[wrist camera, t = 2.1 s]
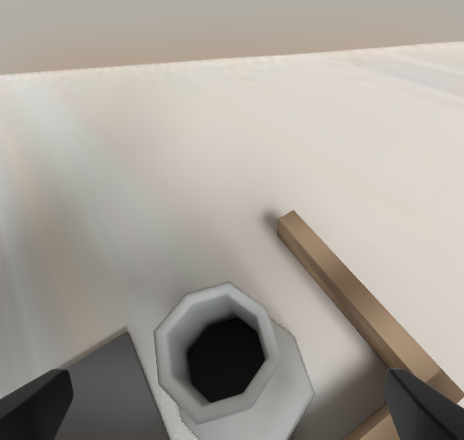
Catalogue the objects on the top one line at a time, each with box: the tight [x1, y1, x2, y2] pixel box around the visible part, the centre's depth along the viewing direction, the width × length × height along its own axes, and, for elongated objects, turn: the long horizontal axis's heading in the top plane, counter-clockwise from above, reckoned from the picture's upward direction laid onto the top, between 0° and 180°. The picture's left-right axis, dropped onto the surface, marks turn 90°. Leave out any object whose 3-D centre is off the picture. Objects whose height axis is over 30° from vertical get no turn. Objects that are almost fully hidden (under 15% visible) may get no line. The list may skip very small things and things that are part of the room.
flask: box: [153, 282, 315, 440], centre depth 11 cm, size 7×7×10 cm
